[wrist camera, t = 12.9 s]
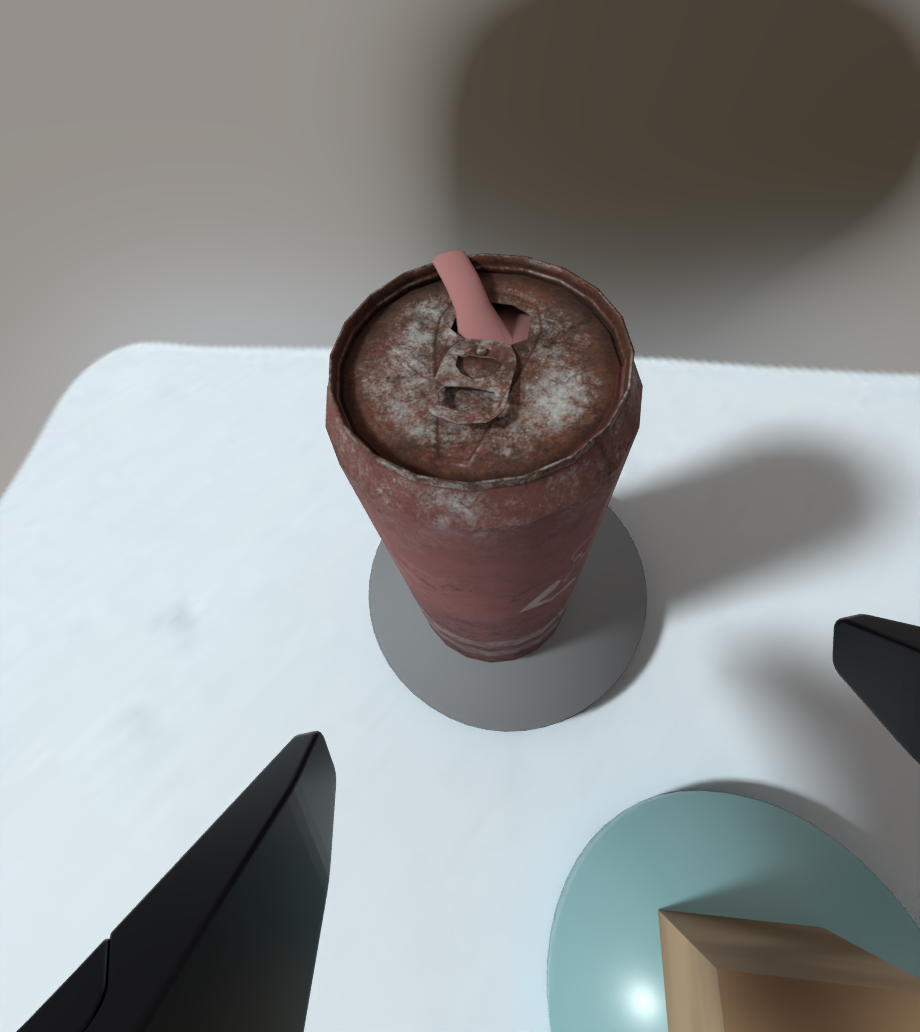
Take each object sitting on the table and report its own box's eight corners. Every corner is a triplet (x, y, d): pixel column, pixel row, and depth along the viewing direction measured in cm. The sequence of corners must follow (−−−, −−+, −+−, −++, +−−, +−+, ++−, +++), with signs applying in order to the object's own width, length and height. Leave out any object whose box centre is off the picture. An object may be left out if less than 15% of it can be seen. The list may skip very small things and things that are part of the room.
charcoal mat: (669, 522, 23) (677, 511, 22) (591, 786, 19) (597, 788, 17) (441, 448, 26) (438, 434, 25) (327, 659, 22) (318, 653, 20)
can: (523, 504, 23) (546, 196, 10) (591, 628, 20) (735, 411, 8) (403, 553, 22) (271, 289, 10) (454, 689, 19) (364, 561, 7)
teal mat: (961, 893, 16) (992, 903, 15) (949, 1450, 12) (993, 1520, 11) (607, 734, 19) (613, 732, 18) (491, 1128, 15) (489, 1157, 14)
